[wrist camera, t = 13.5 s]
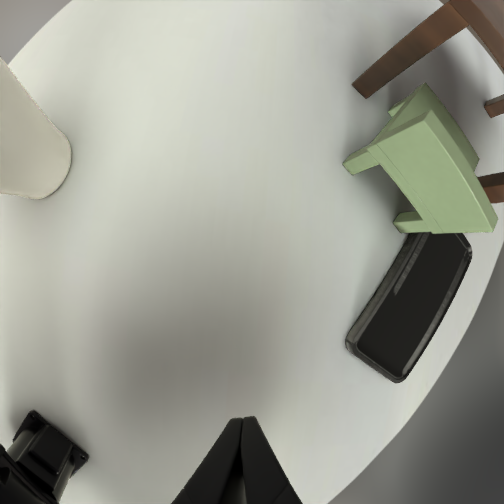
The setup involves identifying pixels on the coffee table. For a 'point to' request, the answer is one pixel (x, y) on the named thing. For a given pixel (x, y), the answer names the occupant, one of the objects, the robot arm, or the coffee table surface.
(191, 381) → the coffee table surface
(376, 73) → the walnut table
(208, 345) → the coffee table surface
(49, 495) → the robot arm
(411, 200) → the chair
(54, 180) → the drinking glass
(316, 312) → the coffee table surface
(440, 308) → the phone
